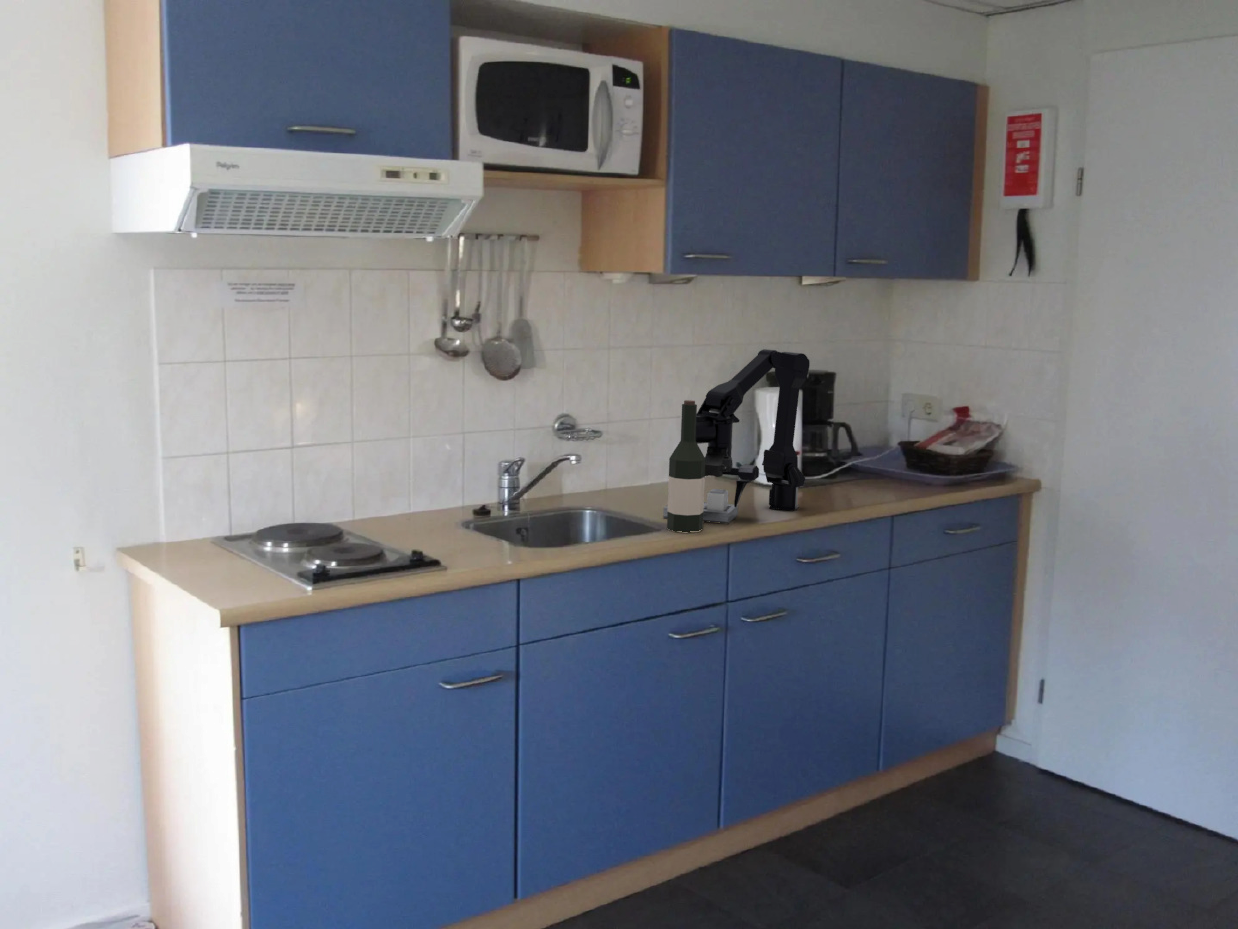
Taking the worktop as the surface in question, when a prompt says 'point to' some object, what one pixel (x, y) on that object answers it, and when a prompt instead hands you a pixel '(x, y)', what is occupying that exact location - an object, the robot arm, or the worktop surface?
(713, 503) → the plug
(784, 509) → the robot arm
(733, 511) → the socket plate
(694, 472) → the wine bottle
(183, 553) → the worktop surface
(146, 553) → the worktop surface
